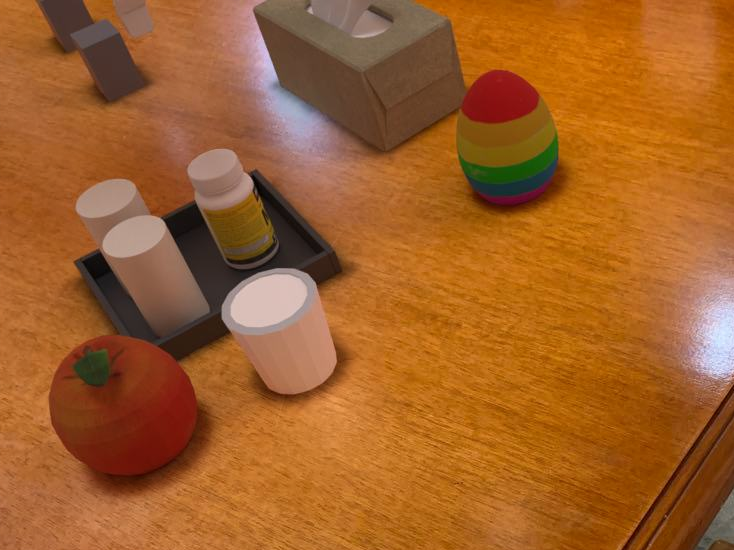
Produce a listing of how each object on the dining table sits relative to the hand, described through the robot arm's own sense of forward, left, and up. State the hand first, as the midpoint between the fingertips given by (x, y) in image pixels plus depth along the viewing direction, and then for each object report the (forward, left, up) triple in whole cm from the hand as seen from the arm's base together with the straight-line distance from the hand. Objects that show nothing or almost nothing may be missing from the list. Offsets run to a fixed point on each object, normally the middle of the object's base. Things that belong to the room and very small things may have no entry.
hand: (118, 7), depth 73 cm
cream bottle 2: (-7, -8, -19) cm, 22 cm away
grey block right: (+2, +31, -20) cm, 37 cm away
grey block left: (+2, +45, -20) cm, 49 cm away
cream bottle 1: (-7, -2, -19) cm, 20 cm away
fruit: (-14, -19, -20) cm, 31 cm away
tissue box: (+20, +9, -20) cm, 29 cm away
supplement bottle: (+1, -5, -19) cm, 20 cm away
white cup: (-2, -20, -20) cm, 28 cm away
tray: (-3, -5, -20) cm, 20 cm away
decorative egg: (+22, -13, -20) cm, 32 cm away
